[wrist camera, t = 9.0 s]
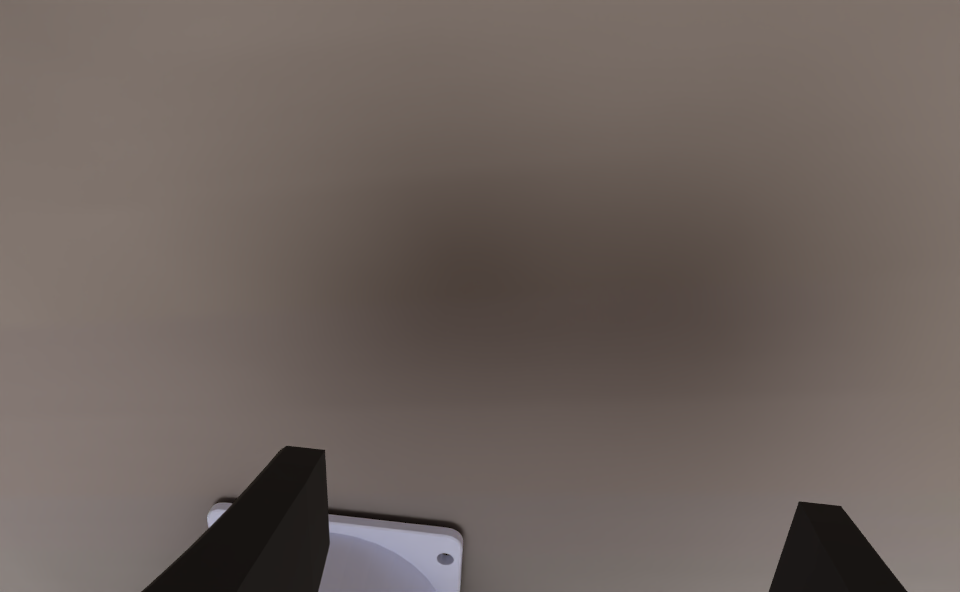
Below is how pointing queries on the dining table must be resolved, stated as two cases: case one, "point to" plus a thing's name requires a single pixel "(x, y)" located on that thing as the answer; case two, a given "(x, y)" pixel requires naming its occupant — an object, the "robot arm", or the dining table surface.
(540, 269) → the dining table surface
